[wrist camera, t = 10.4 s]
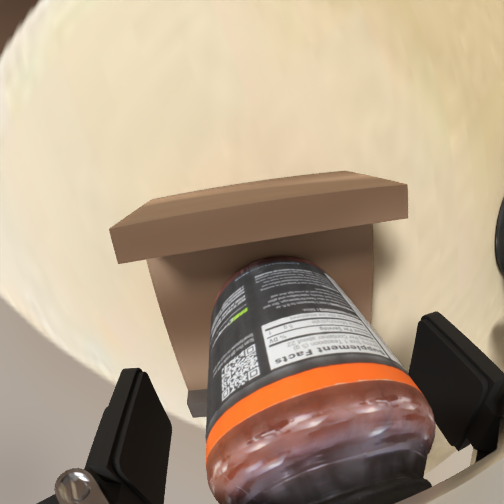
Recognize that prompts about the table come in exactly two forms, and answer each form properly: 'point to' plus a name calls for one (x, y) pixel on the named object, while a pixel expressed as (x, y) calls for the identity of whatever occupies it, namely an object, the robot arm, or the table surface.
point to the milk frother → (500, 239)
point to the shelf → (252, 247)
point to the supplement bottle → (307, 396)
